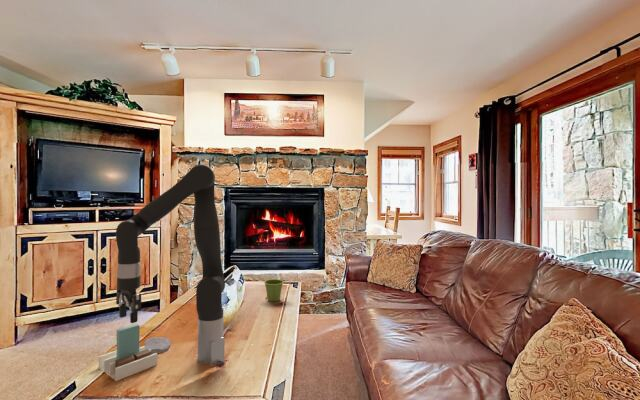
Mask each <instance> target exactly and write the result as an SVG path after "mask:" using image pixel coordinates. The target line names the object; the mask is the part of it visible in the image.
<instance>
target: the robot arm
mask: <svg viewBox="0 0 640 400" xmlns="http://www.w3.org/2000/svg"><path fill="white" fill-rule="evenodd" d="M215 180H216V176H215V173H214V171H213V169H212V168H210V166H208V165H206V164H203V163H200V164H196V165H194V166H192V168H191V169H190V170H189V171H188V172H187V173H186V174H185V175H184V176H182V178H180V180H179V181H177V182H176V183H175V184H174V185H173V186H172V187H170V188H169V189H167V190H166V191H165V192H163V193H162V194H160V195H159V196H158V197H156V198H154V199H153V200H152V201H150V202H149V203H147V204H146V205H145V206H143V207H142V208H140V210H139V212H137V213H135V214H134V215H133V216H132V217H130V218H129V219H127V220H124V221H122V222H120V223H119V224H118V225H117V227H116V231H115V239H116V245H117V250H118V251H117V268H116V300H115V304H116V305H117V306H118V308H119V309H118V310H119V311H118V312H119V314H118V315H119V316H118V317H119V318H126V317H127V311H128V310H127V308H129V312H130V313H129V315H130V317H129V321H130V322H129V323H130V324H135V323H137V322H138V317H139V316H138V315H139V314H138V312H140V311H142V294H141V293H137V290H138V289H139V288H141V279H142V278H141V273H142V272H141V271H142V268H141V249H140V247H139V243H138V242H139V241H138V237H139V236H141V235H142V234H143V233H144V232H146V231H147V230H149V228H150V227H151V226H153V225H155V224H156V223H157V222H159V221H160V220H161V219H163V218H164V217H166V216H167V215H168V214H170V212H172V211H173V210H174V209H175V208H176V207H178V206H179V205H180V204H181V203H182V202H183V201H185V200H186V199H188V197H190V196H192V195H194V197H193V198H194V214H193V233H194V234H193V235H194V240H195V241H194V243H195V246H196V249H197V251H198V254H199V256H200V259H201V266H202V278H201V279H200V280H199V281H198V283H197V285H196V290H195V292H196V294H195V296H196V299H195V300H196V301H195V302H196V303H195V304H196V306H195V307H196V312H197V362H199V363H200V364H202V365H203V364H204V365H210V366H211V365H213V366H212V367H210V369H212V368H215V367H217V366H219V365H221V364H223V363H225V356H226V355H225V353H226V352H225V350H226V349H225V343H226V340H225V337H224V308H223V304H222V303H223V302H222V301H223V300H222V295H223V292H224V291H225V288H226V280H225V274H224V271H223V265H222V255H221V254H222V252H221V250H222V248H221V233H220V223H219V215H218V210H217V207H216V201H215V183H216V182H215ZM219 362H220V363H219ZM215 363H218V364H215ZM214 364H215V365H214Z"/></svg>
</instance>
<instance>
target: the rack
mask: <svg viewBox="0 0 640 400" xmlns="http://www.w3.org/2000/svg"><path fill="white" fill-rule="evenodd" d="M140 345H141V344H140V342H139V352H140V351H143V350H145V346H144V345H143V346H140ZM149 350H150V349H149ZM150 351H151V350H150ZM132 356H133V357H134V355H132ZM116 360H117V349H116V350H114V351H111V352H107V353H105V354H101V355H99V356H98V368H99V369H100V370H101V371H102V372H104V373H105V374H106V375H107V376H109V377H111V378H112V379H113V380H114V381H116V382H117V381H120V380H122V379H125V378H127V377H129V376H132V375H134V374H137V373H140V372H142V371H144V370H148V369H150V368H153V367H154V366H155V367H156V366H157V365H158V353H153V354H152V355H149V356H147V357H144V358H141V359H139V360H136V361H133V362H130V363H128V364H125V365H122V366H120V367H117V368H115V361H116Z"/></svg>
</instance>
